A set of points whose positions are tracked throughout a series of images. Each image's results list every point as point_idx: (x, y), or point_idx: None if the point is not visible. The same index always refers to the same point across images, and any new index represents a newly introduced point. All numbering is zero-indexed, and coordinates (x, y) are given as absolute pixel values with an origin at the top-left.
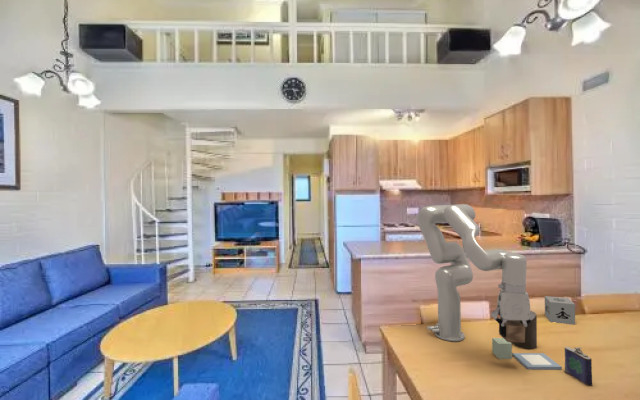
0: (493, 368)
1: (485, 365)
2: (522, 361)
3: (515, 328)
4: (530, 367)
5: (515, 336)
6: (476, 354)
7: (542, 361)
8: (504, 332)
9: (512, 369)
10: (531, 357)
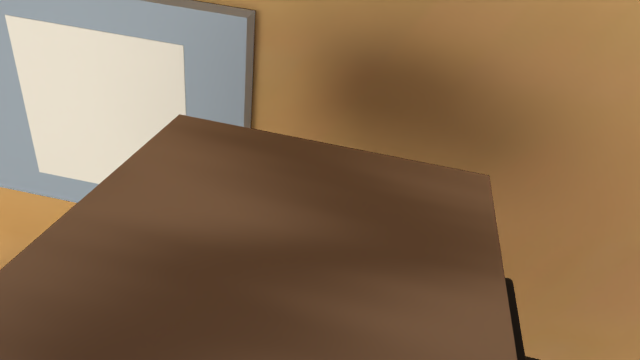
0: (578, 81)
1: (610, 141)
2: (237, 110)
3: (279, 355)
4: (222, 10)
5: (323, 205)
6: (530, 297)
7: (64, 77)
8: (522, 351)
9: (400, 34)
10: (123, 150)
